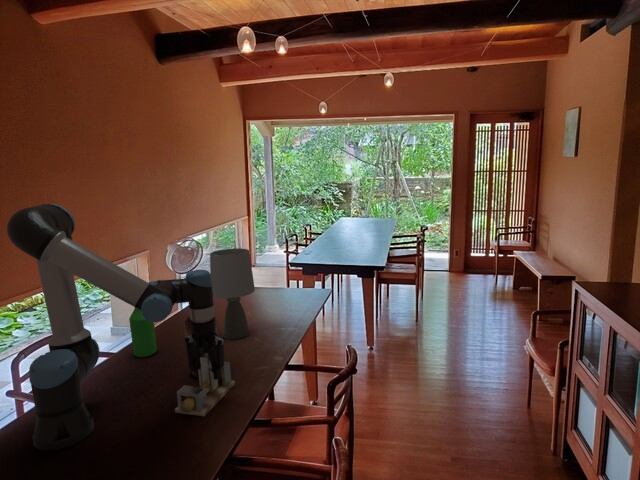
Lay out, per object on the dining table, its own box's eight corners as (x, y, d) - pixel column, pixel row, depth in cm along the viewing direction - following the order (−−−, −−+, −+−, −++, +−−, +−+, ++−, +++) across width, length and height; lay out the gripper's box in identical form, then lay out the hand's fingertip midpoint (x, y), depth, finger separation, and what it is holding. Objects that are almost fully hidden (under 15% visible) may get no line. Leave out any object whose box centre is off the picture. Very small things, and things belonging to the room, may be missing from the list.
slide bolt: (191, 413, 135) (187, 375, 133) (180, 411, 136) (176, 374, 134) (221, 384, 152) (217, 350, 150) (211, 383, 153) (208, 349, 151)
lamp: (207, 342, 192) (199, 256, 186) (226, 326, 210) (219, 247, 204) (248, 344, 188) (241, 257, 181) (264, 327, 206) (258, 247, 199)
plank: (204, 416, 136) (203, 412, 136) (175, 412, 139) (174, 408, 138) (235, 384, 155) (234, 380, 154) (208, 381, 157) (208, 378, 157)
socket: (225, 386, 151) (223, 367, 150) (205, 384, 153) (204, 365, 152) (231, 380, 155) (229, 361, 154) (211, 378, 157) (210, 360, 156)
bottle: (149, 358, 178) (141, 297, 174) (129, 357, 180) (121, 297, 176) (161, 349, 187) (154, 291, 182) (142, 348, 189) (135, 290, 184)
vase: (189, 381, 158) (181, 309, 153) (189, 368, 168) (182, 300, 164) (221, 376, 161) (215, 305, 156) (219, 363, 171) (213, 296, 167)
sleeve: (200, 412, 136) (198, 394, 135) (178, 409, 138) (176, 391, 137) (206, 405, 140) (205, 387, 139) (185, 402, 142) (184, 385, 141)
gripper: (231, 316, 145) (237, 384, 149) (186, 313, 150) (193, 379, 154) (220, 324, 138) (226, 395, 142) (172, 321, 143) (180, 390, 147)
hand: (209, 387), depth 148 cm, fingers closed on slide bolt, 4 cm apart
